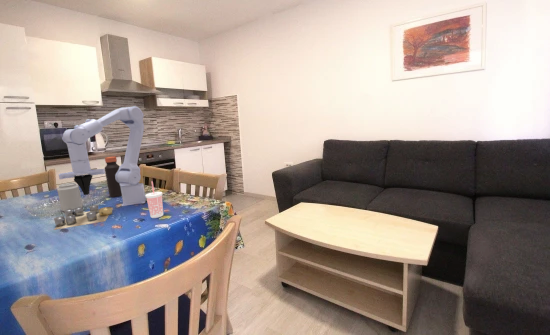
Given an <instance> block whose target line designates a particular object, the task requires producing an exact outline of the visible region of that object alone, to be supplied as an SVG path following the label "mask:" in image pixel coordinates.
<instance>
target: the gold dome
mask: <svg viewBox="0 0 550 335" xmlns="http://www.w3.org/2000/svg"><path fill="white" fill-rule="evenodd" d="M112 208H113V207H112V206H105V207H104V206H103V207H101V208H99V215H100V216H108V215H109V216H110V215H112V214H113V209H112ZM109 216H108V217H109Z"/></svg>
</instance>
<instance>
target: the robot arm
mask: <svg viewBox="0 0 550 335" xmlns="http://www.w3.org/2000/svg"><path fill="white" fill-rule="evenodd" d="M144 115H145V114H144V113H143V111H142V109H141V108H140V107H138V106H134V105H133V106H125V107H122V106H121V107H119V108H116V109H113V110H112V111H110V112H108V113H107V114H105V115H103V116H101V117H100V118H99V119H94V118H87V119H85V122H84V123H81V124H76V125H74V126H73V127H74V128H68V129H66V130H65V131H64V132H63V134H62V137H61V140H62V141H63V142H64V143H65V144H66V146H67V150H68V151H67V152H68V154H69V155H68V156H69V160H70V165H71V169H72V171H69V172H62V173H61V172H60V173H59V174H58V178H59V180H63V179H71V178H73V181H74V183H76V185H78V186H79V189H80V190H81V191H82V193H83V195H84V196H86V195H87V196H88V195H89V194H90V186H91V183H92V179H93V176H98V175H106V174H105V168H96V169H91V163H90V159H89V153H88V148H87V144H86V143H87V142H88V140H89V139H90V138H92V137H94V136H96V135H98V134H99V133H101V132H102V131H103V128H104V127H106V126H108V125H110V124H111V123H115V121H116V122H117V121H119V120H120V122H121V123H123V124H124V125H125V126H127V127H128V129H129V135H128V138H127V144H126V149H125V152H124V153H125V155H124V159H123V163H122V164H121V165H119V166H120V167H119V170H118V172H117V173H116V175H115V179H116V181H117V182H118V183H119V184H120V187H121V193H122V196H121V198H122V204H121V207H124V206H130V205H132V206H133V205H138V204H140V205H141V204H145V203H146V201H147V198H146V196H145V195H146V191H145V185H144V183H143V182H141V183H140V181H141V178H142V177H141V168H140V166H139V165H138V162H139V161H138V160H139V157H140V151H141V147H142V142H143V136H144V132H145V125H144V117H145V116H144Z"/></svg>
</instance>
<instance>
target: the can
mask: <svg viewBox="0 0 550 335" xmlns="http://www.w3.org/2000/svg"><path fill="white" fill-rule="evenodd" d="M80 190H81V189H80V187H79V185H78V184H77V183H76V182H66V183H62V184H59V185H58V187H57V189H56V191H57V195H58V200H59V204H60V210H61V212H64V210H67V209H74V208H77V207H83V200H82V196H81V191H80ZM83 208H84V207H83Z"/></svg>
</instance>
